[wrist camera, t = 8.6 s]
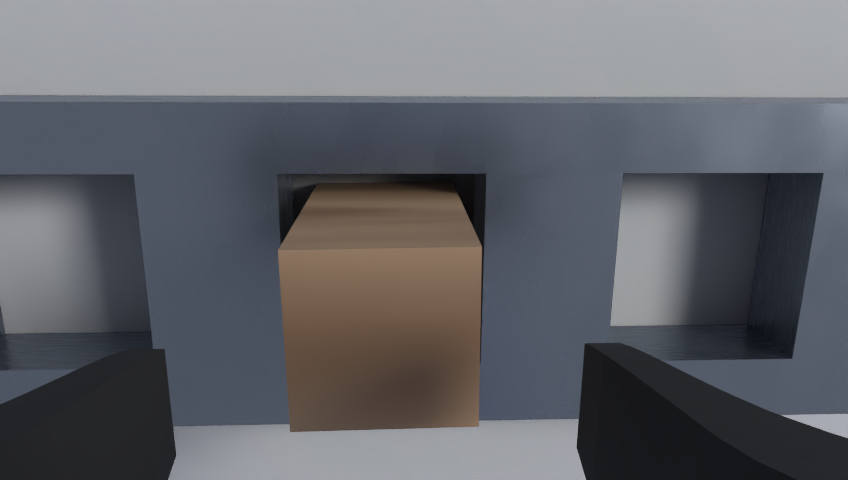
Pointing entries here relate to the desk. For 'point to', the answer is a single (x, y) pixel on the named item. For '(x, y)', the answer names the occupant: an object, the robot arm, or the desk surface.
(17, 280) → the desk surface
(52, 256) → the desk surface
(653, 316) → the desk surface
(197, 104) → the grey square hole board
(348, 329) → the square peg
